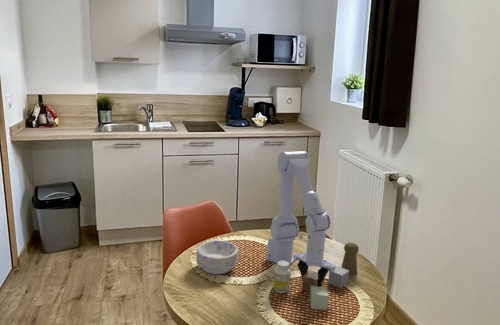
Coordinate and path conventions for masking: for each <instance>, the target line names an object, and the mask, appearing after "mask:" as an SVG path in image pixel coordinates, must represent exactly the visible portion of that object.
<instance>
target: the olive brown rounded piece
mask: <svg viewBox="0 0 500 325" xmlns="http://www.w3.org/2000/svg"><path fill="white" fill-rule="evenodd" d="M343 249H344V256H343V260H342V264H341V266H340V267H341V268H344V269H346V270H349V276H355V275H357V274H358V261H357V260H358V257H357V256H358V253H359V249H360V248H359V246H358V244H357V243H355V242H347V243H345V244H344V247H343Z"/></svg>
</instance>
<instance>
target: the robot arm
mask: <svg viewBox="0 0 500 325" xmlns="http://www.w3.org/2000/svg"><path fill="white" fill-rule="evenodd" d="M309 167H310V157H309V154H308V152H307V151H305V150H302V151H297V150H296V151H281V152H280V153H279V155H278V156H277V172H278V173H279V196H278V197H279V203H278V207H279V208H278V214H277V215H276V216H274V217H273V218H272V219H271V220H272V221H271V226H270V232H269V233H270V237H269V238H268V241H267V246H266V247H267V248H266V258H265V260H266V261H269V262H272V263H275V264H277V263H278V261H282V260H283V261H287V262H289V265H291V264H292V263H294V261H298V263H297V264H296V266H297V268H298V270H299V274H300V275H301V280H302V281H303V275H304V274H305V273H306V272H308V271H309V267H318V270H317V273H318V285H317V287H323V283H324V280H325V278H326V276H327V274H329V270H330V272H334V271H335V267H336V266H337V265H336V264H333V263H331V262H329V261H327V260H326V259H324V254H325V242H326V233H327V232H326V230H329V229H330V227H331V219H330V215H329V214H328V213H327V212H326V209H323V207H322V203H321V200H320V198H319V195H318V193H317V192H315V191H314V189H313V186H312V181H311V178H310V173H309ZM294 176H295V177H296V181H297V183H298V185H299V188H300V190H301V193H302V197H301V202H302V206H303V209H304V211H305V216H306V218H305V222H304V223H305V227H306V235H307V239H306V240H307V242H306V252H305V253H300V252H299V253H298V252H295V253H294V254H293V249H294V241H296V238H297V237H298V236H299V234H300V233H299V232H300V228H299V227H300V226H299V221H298V218H297V217H296V216H295V215H293V214H294V212H293V210H294V209H293V208H294V180H295V178H294Z"/></svg>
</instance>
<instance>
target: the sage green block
mask: <svg viewBox="0 0 500 325" xmlns="http://www.w3.org/2000/svg"><path fill="white" fill-rule="evenodd" d="M309 293H310V294H309V302H310V303H309V305H310V309H312V310H325V311H326V310H328V303H329V293H328V287H326V286H321V287H315V286H311V291H310V292H309Z"/></svg>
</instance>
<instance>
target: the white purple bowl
mask: <svg viewBox="0 0 500 325" xmlns="http://www.w3.org/2000/svg"><path fill="white" fill-rule="evenodd" d="M195 254H196V257H195V258H196V264H197V265H198V266H199V267H200V268H202V269H203V270H204V271H205V272H206V273H208V274H212V275H221V274H225V273H228V272H229V271H230V270H232V268H234V267H235V266H237V264H238V261H239V248H238V246H237V245H236V244H234V243H232V242H230V241H226V240H225V241H224V240H209V241H205V242H203V243H202V242H201V244H199V245H198V246H197V247H196V253H195Z"/></svg>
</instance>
